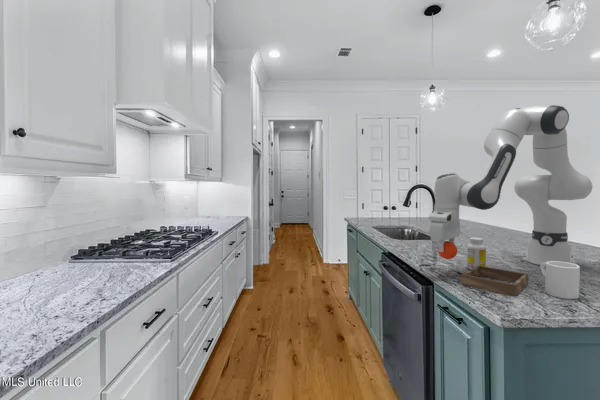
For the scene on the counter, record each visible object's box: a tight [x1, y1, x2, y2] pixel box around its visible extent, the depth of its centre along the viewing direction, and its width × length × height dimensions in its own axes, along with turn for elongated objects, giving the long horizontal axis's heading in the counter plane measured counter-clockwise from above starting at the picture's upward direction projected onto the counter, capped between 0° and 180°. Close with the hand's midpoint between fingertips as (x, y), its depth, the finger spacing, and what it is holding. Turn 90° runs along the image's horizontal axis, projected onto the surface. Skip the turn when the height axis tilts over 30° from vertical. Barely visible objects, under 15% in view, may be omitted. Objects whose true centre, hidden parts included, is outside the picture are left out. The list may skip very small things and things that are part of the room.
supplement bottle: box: [466, 237, 487, 270], centre depth 125 cm, size 7×7×13 cm
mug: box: [539, 261, 581, 300], centre depth 97 cm, size 8×12×10 cm, turn 4°
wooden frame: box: [461, 266, 529, 297], centre depth 106 cm, size 17×16×4 cm
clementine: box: [437, 240, 458, 260], centre depth 118 cm, size 8×7×7 cm
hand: (446, 250), depth 118 cm, fingers closed on clementine, 7 cm apart
